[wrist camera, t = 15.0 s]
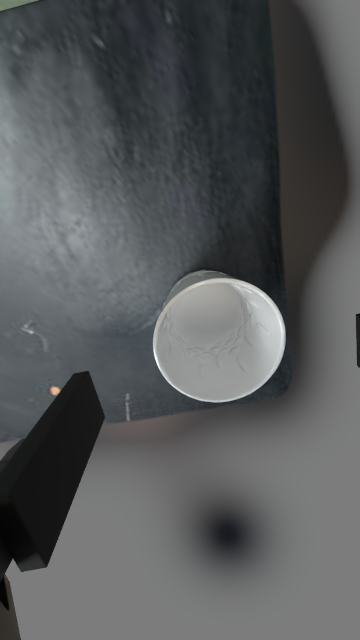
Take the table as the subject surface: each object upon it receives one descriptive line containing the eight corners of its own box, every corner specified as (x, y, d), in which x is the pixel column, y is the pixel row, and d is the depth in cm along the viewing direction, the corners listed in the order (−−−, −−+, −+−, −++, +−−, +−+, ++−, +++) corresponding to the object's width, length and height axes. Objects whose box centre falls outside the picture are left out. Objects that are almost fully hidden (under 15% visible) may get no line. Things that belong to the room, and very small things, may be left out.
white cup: (236, 254, 24) (277, 263, 14) (250, 333, 26) (293, 387, 17) (152, 274, 24) (137, 296, 15) (172, 351, 27) (171, 413, 17)
